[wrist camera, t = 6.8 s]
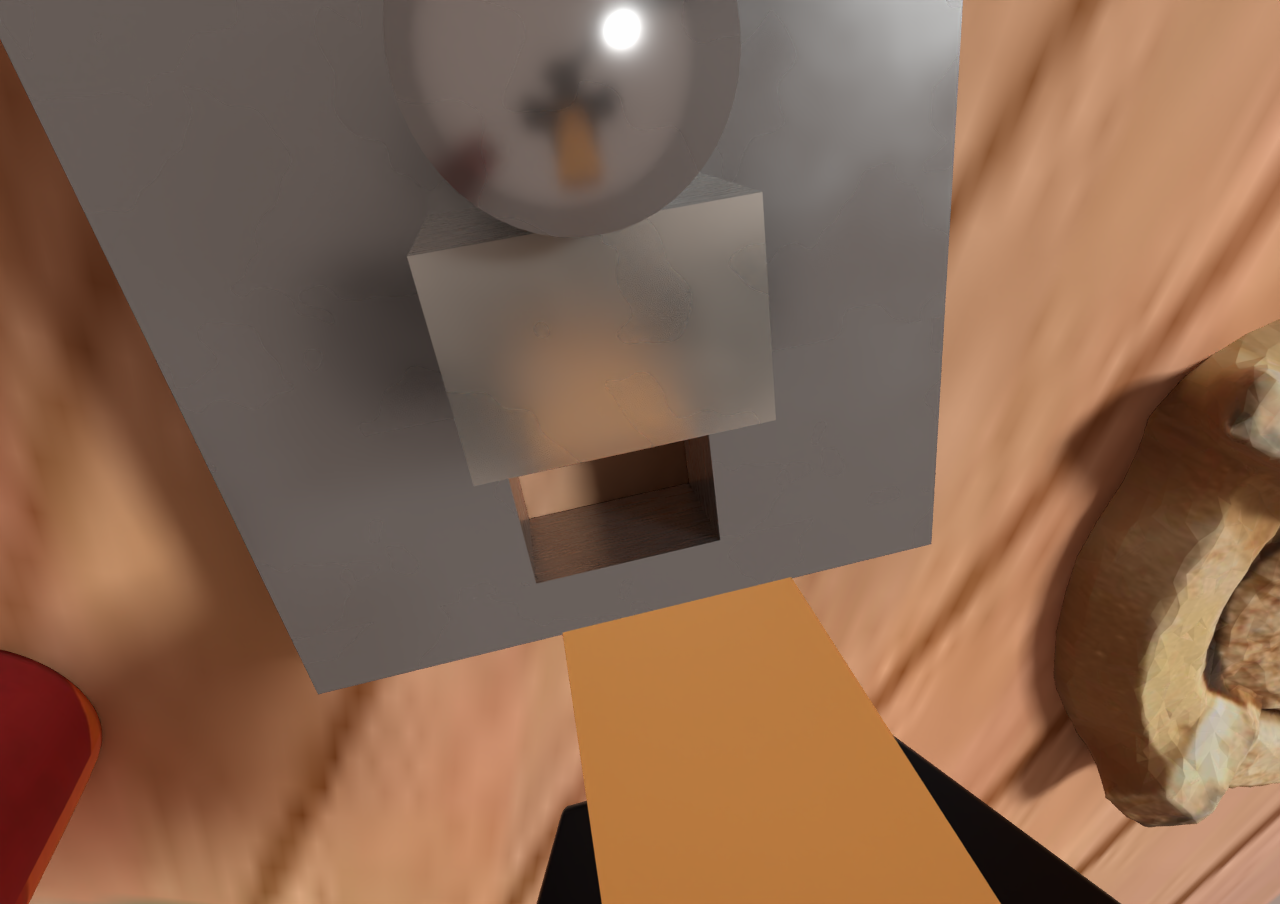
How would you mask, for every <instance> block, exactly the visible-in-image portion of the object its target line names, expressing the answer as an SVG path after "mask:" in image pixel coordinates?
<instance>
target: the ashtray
mask: <svg viewBox="0 0 1280 904" xmlns="http://www.w3.org/2000/svg"><path fill="white" fill-rule="evenodd" d="M1054 680H1055V685H1056V689H1057V691H1058V693H1059V696H1060V698H1061V701H1062V703H1063V705H1064V708H1065V710H1066V712H1067V714H1068V716H1069V718H1070V719H1071V721H1072V722H1073V724H1074V726H1075V730H1076V732H1077V733H1078V735H1079V736H1080V737H1081V739H1082V740H1083V741H1084V742H1085V744H1086V745H1087V747H1088V749H1089V751H1090V753H1091V755H1092V757H1093V759H1094V761H1095V763H1096V765H1097V768H1098V771H1099V774H1100V778H1101V781H1102V784H1103V788H1104V791H1105V798H1107V799H1108V800H1110V801H1111V802H1112V804H1114V805H1115V806H1116V807H1117V808H1118V809H1119V810H1120V811H1121V812H1122V813H1123V814H1124V815H1125V816H1126V817H1128V818H1130V819H1132V820H1135V821H1136V822H1138V823H1140V824H1141V825H1143V826H1145V827H1156V826H1175V825H1185V824H1197V823H1199V822H1200V821H1202V820H1203V819H1205V818H1206V817H1207V816H1209V815H1210V814H1211V813H1212V812H1213V811H1214V810H1215V809H1216V807H1217V805H1218V803H1219V801H1220V800H1221V798H1222V796H1223V795H1224V794H1225V792H1226V791H1227V789H1228V788H1235V787H1238V786H1240V787H1253V786H1263V785H1268V784H1273V783H1280V319H1279V320H1277V321H1274V322H1272V323H1270V324H1268V325H1266V326H1264V327H1261V328H1259V329H1257V330H1254V331H1252V332H1250V333H1248V334H1246V335H1244V336H1243V337H1241V338H1240V339H1238V340H1236V341H1235V342H1233V343H1231V344H1230V345H1228V346H1227V347H1225V348H1223V349H1222V350H1220V351H1218V352H1217V353H1215V354H1213V355H1211V356H1210V357H1209V358H1208V359H1207V360H1205V361H1204V362H1203V363H1202V364H1200V365H1199V366H1198V367H1197V368H1195V369H1194V370H1193V371H1192V372H1190V373H1189V374H1188V375H1187V376H1185V377H1184V378H1183V379H1182V380H1181V382H1180V383H1179V384H1178V385H1177V386H1176V387H1175V388H1174V389H1173V390H1172V391H1171V392H1170V394H1169V395H1168V396H1167V397H1166V398H1165V399H1164V400H1163V401H1162V402H1161V403H1160V405H1159V406H1158V407H1157V408H1156V409H1155V410H1154V412H1153V413H1152V414H1151V415H1150V416H1149V419H1148V422H1147V425H1146V428H1145V431H1144V435H1143V438H1142V441H1141V443H1140V446H1139V449H1138V451H1137V453H1136V455H1135V457H1134V459H1133V461H1132V464H1131V466H1130V468H1129V470H1128V472H1127V474H1126V476H1125V479H1124V481H1123V482H1122V484H1121V486H1120V487H1119V489H1118V490H1117V492H1116V493H1115V495H1114V496H1113V498H1112V499H1111V501H1110V502H1109V504H1108V506H1107V507H1106V509H1105V510H1104V512H1103V513H1102V515H1101V516H1100V518H1099V519H1098V521H1097V523H1096V524H1095V526H1094V528H1093V530H1092V532H1091V533H1090V535H1089V537H1088V539H1087V540H1086V542H1085V544H1084V546H1083V548H1082V549H1081V551H1080V553H1079V555H1078V556H1077V559H1076V562H1075V565H1074V568H1073V571H1072V574H1071V577H1070V580H1069V584H1068V587H1067V590H1066V593H1065V597H1064V601H1063V606H1062V610H1061V614H1060V618H1059V623H1058V627H1057V631H1056V646H1055V660H1054Z"/></svg>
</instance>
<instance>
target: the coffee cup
mask: <svg viewBox="0 0 1280 904" xmlns="http://www.w3.org/2000/svg"><path fill="white" fill-rule="evenodd" d="M101 743H102V729H101V724H100V721H99V718H98V715H97V713H96V711H95V709H94V707H93V706H92V704H91V703H90V701H89V700H88V699H87V697H86V696H85V695H84V694H83V693H82V692H81V691H80V690H79V689H78V688H77V687H76V686H75V685H74V684H73V683H71V682H70V681H69V680H68V679H66V678H65V677H63V676H62V675H60V674H59V673H57V672H56V671H54V670H52V669H50V668H49V667H47V666H45V665H43V664H41V663H39V662H36V661H34V660H32V659H29V658H26V657H24V656H21V655H18V654H14V653H11V652H7V651H3V650H0V904H29V902H30V900H31V898H32V896H33V894H34V892H35V890H36V888H37V886H38V884H39V881H40V879H41V877H42V875H43V873H44V871H45V869H46V867H47V865H48V863H49V861H50V859H51V857H52V855H53V853H54V851H55V849H56V847H57V845H58V843H59V841H60V839H61V837H62V835H63V833H64V831H65V829H66V827H67V824H68V822H69V820H70V818H71V816H72V814H73V812H74V810H75V807H76V805H77V803H78V801H79V799H80V797H81V795H82V793H83V791H84V788H85V786H86V784H87V782H88V780H89V777H90V775H91V773H92V770H93V768H94V766H95V763H96V761H97V758H98V755H99V751H100V748H101Z"/></svg>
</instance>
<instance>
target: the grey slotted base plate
mask: <svg viewBox="0 0 1280 904" xmlns="http://www.w3.org/2000/svg"><path fill="white" fill-rule="evenodd" d="M962 6H963V0H0V39H1V42H2V44H3V46H4V48H5V50H6V52H7V54H8V56H9V58H10V60H11V62H12V64H13V66H14V68H15V70H16V72H17V75H18V77H19V79H20V81H21V83H22V85H23V87H24V89H25V91H26V93H27V95H28V97H29V99H30V101H31V103H32V105H33V108H34V110H35V112H36V114H37V116H38V118H39V120H40V122H41V124H42V126H43V128H44V130H45V132H46V134H47V136H48V138H49V140H50V143H51V145H52V147H53V149H54V151H55V153H56V155H57V157H58V159H59V161H60V163H61V165H62V167H63V169H64V171H65V173H66V176H67V178H68V180H69V182H70V184H71V186H72V188H73V190H74V192H75V194H76V196H77V198H78V200H79V202H80V204H81V206H82V209H83V211H84V213H85V215H86V217H87V219H88V221H89V223H90V225H91V227H92V229H93V231H94V233H95V235H96V237H97V239H98V242H99V244H100V246H101V248H102V250H103V252H104V254H105V256H106V258H107V260H108V262H109V264H110V266H111V268H112V270H113V272H114V275H115V277H116V279H117V281H118V283H119V285H120V287H121V289H122V291H123V293H124V295H125V297H126V299H127V301H128V303H129V305H130V307H131V310H132V312H133V314H134V316H135V318H136V320H137V322H138V324H139V326H140V328H141V330H142V332H143V334H144V336H145V338H146V340H147V343H148V345H149V347H150V349H151V351H152V353H153V355H154V357H155V359H156V361H157V363H158V365H159V367H160V369H161V371H162V373H163V376H164V378H165V380H166V382H167V384H168V386H169V388H170V390H171V392H172V394H173V396H174V398H175V400H176V402H177V404H178V406H179V409H180V411H181V413H182V415H183V417H184V419H185V421H186V423H187V425H188V427H189V429H190V431H191V433H192V435H193V437H194V439H195V442H196V444H197V446H198V448H199V450H200V452H201V454H202V456H203V458H204V460H205V462H206V464H207V466H208V468H209V470H210V472H211V474H212V477H213V479H214V481H215V483H216V485H217V487H218V489H219V491H220V493H221V495H222V497H223V499H224V501H225V503H226V505H227V507H228V510H229V512H230V514H231V516H232V518H233V520H234V522H235V524H236V526H237V528H238V530H239V532H240V534H241V536H242V538H243V540H244V543H245V545H246V547H247V549H248V551H249V553H250V555H251V557H252V559H253V561H254V563H255V565H256V567H257V569H258V571H259V573H260V576H261V578H262V580H263V582H264V584H265V586H266V588H267V590H268V592H269V594H270V596H271V598H272V600H273V602H274V604H275V606H276V609H277V611H278V613H279V615H280V617H281V619H282V621H283V623H284V625H285V627H286V629H287V631H288V633H289V635H290V637H291V639H292V641H293V644H294V646H295V648H296V650H297V652H298V654H299V656H300V658H301V660H302V662H303V664H304V666H305V668H306V670H307V672H308V674H309V677H310V679H311V681H312V683H313V685H314V687H315V689H316V691H317V693H318V694H322V693H326V692H330V691H334V690H338V689H342V688H346V687H350V686H354V685H358V684H362V683H366V682H370V681H375V680H379V679H383V678H387V677H391V676H395V675H399V674H403V673H407V672H411V671H415V670H419V669H424V668H428V667H432V666H436V665H440V664H444V663H448V662H452V661H456V660H460V659H464V658H468V657H472V656H477V655H481V654H485V653H489V652H493V651H497V650H501V649H505V648H509V647H513V646H517V645H521V644H526V643H530V642H534V641H538V640H542V639H546V638H550V637H554V636H558V635H562V634H563V632H567V631H571V630H575V629H579V628H584V627H588V626H592V625H596V624H600V623H604V622H608V621H612V620H617V619H621V618H625V617H629V616H633V615H637V614H641V613H645V612H649V611H654V610H658V609H662V608H666V607H670V606H674V605H678V604H682V603H686V602H691V601H695V600H699V599H703V598H707V597H711V596H715V595H719V594H723V593H728V592H732V591H736V590H740V589H744V588H748V587H752V586H756V585H761V584H765V583H769V582H773V581H777V580H781V579H785V578H789V577H791V578H795V577H799V576H803V575H807V574H811V573H815V572H819V571H823V570H827V569H832V568H836V567H840V566H844V565H848V564H852V563H856V562H860V561H864V560H868V559H872V558H876V557H880V556H885V555H889V554H893V553H897V552H901V551H905V550H909V549H913V548H917V547H921V546H925V545H929V544H931V539H932V522H933V504H934V487H935V470H936V453H937V436H938V418H939V401H940V384H941V367H942V350H943V332H944V315H945V298H946V281H947V264H948V246H949V229H950V212H951V195H952V178H953V161H954V143H955V126H956V109H957V92H958V75H959V57H960V40H961V23H962ZM683 440H684V445H685V453H686V461H687V469H688V477H689V483H687V484H683V485H679V486H674V487H670V488H665V489H661V490H656V491H652V492H648V493H643V494H639V495H634V496H630V497H625V498H621V499H617V500H612V501H608V502H603V503H599V504H594V505H590V506H586V507H581V508H577V509H572V510H568V511H563V512H559V513H555V514H550V515H546V516H541V517H537V518H533V519H529V517H528V513H527V509H526V505H525V501H524V497H523V493H522V489H521V485H520V481H519V478H518V477H519V476H523V475H528V474H532V473H537V472H541V471H546V470H550V469H555V468H560V467H564V466H569V465H573V464H578V463H582V462H587V461H592V460H596V459H601V458H605V457H610V456H614V455H619V454H624V453H628V452H633V451H637V450H642V449H646V448H651V447H655V446H660V445H665V444H669V443H674V442H678V441H683Z"/></svg>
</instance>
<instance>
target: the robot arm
mask: <svg viewBox="0 0 1280 904" xmlns="http://www.w3.org/2000/svg"><path fill="white" fill-rule="evenodd" d="M893 737H894V738H895V740H896V741H897V743H898V744H899V746H900V748H901V749H902V751H903V752H904V754H905V755H906V757H907V758H908V760H909V762H910V763H911V765H912V766H913V768H914V769H915V771H916V772H917V774H918V776H919V777H920V779H921V780H922V782H923V783H924V785H925V786H926V788H927V790H928V791H929V793H930V794H931V796H932V797H933V799H934V800H935V802H936V804H937V805H938V807H939V808H940V810H941V811H942V813H943V814H944V816H945V818H946V819H947V821H948V822H949V824H950V825H951V827H952V828H953V830H954V832H955V833H956V835H957V836H958V838H959V839H960V841H961V842H962V844H963V846H964V847H965V849H966V850H967V852H968V853H969V855H970V856H971V858H972V860H973V861H974V863H975V864H976V866H977V867H978V869H979V871H980V872H981V874H982V875H983V877H984V878H985V880H986V881H987V883H988V885H989V886H990V888H991V889H992V891H993V892H994V894H995V895H996V897H997V899H998V900H999V902H1000V903H1001V904H1121V903H1119V902H1118V901H1117V900H1115V899H1114V898H1113V897H1111V896H1110V895H1108V894H1107V893H1106V892H1104V891H1103V890H1102V889H1100V888H1099V887H1098V886H1096V885H1095V884H1094V883H1092V882H1091V881H1090V880H1088V879H1087V878H1085V877H1084V876H1083V875H1081V874H1080V873H1079V872H1077V871H1076V870H1075V869H1073V868H1072V867H1071V866H1069V865H1068V864H1067V863H1065V862H1064V861H1062V860H1061V859H1060V858H1058V857H1057V856H1056V855H1054V854H1053V853H1052V852H1050V851H1049V850H1048V849H1046V848H1045V847H1043V846H1042V845H1041V844H1039V843H1038V842H1037V841H1035V840H1034V839H1033V838H1031V837H1030V836H1029V835H1027V834H1026V833H1025V832H1023V831H1022V830H1020V829H1019V828H1018V827H1016V826H1015V825H1014V824H1012V823H1011V822H1010V821H1008V820H1007V819H1006V818H1004V817H1003V816H1002V815H1000V814H999V813H997V812H996V811H995V810H993V809H992V808H991V807H989V806H988V805H987V804H985V803H984V802H983V801H981V800H980V799H979V798H977V797H976V796H974V795H973V794H972V793H970V792H969V791H968V790H966V789H965V788H964V787H962V786H961V785H960V784H958V783H957V782H956V781H954V780H953V779H951V778H950V777H949V776H947V775H946V774H945V773H943V772H942V771H941V770H939V769H938V768H937V767H935V766H934V765H933V764H931V763H930V762H928V761H927V760H926V759H924V758H923V757H922V756H920V755H919V754H918V753H916V752H915V751H914V750H912V749H911V748H910V747H908V746H907V745H905V744H904V743H903V742H901V741H900V740H899V739H897V738H896V737H895V736H893ZM537 904H602V901H601V894H600V887H599V880H598V874H597V867H596V860H595V853H594V846H593V839H592V832H591V825H590V818H589V812H588V805H587V801H584V802H581V803H577V804H573V805H569V806H567V807H566V808H565V809H564V810H563V812H562V814H561V817H560V821H559V825H558V828H557V832H556V835H555V839H554V843H553V846H552V850H551V854H550V857H549V861H548V864H547V868H546V872H545V875H544V879H543V883H542V886H541V890H540V893H539V897H538V901H537Z"/></svg>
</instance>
